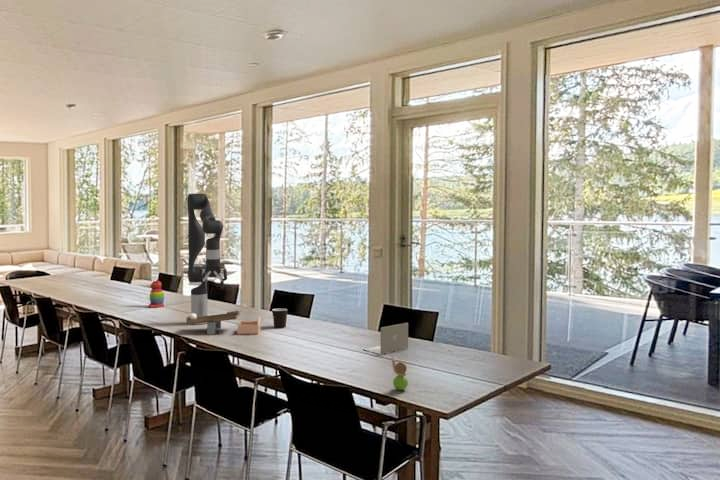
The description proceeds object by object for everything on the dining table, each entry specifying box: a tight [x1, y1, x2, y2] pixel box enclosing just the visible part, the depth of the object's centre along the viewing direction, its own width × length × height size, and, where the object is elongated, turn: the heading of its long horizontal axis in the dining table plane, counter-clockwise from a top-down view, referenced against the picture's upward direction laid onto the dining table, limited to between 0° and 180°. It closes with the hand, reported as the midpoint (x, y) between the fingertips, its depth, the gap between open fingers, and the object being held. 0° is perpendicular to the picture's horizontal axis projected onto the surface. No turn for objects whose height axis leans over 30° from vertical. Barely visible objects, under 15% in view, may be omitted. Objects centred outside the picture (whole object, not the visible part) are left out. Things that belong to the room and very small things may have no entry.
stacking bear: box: [148, 279, 165, 309], centre depth 395 cm, size 11×10×18 cm
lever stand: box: [206, 321, 222, 336], centre depth 316 cm, size 17×4×6 cm, turn 3°
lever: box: [185, 310, 241, 326], centre depth 315 cm, size 14×26×5 cm, turn 93°
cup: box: [236, 315, 262, 335], centre depth 313 cm, size 11×11×8 cm
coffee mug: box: [271, 307, 288, 329], centre depth 328 cm, size 12×9×10 cm
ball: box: [188, 313, 197, 320], centre depth 311 cm, size 4×4×4 cm
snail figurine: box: [391, 356, 409, 391], centre depth 214 cm, size 5×6×12 cm
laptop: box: [364, 322, 409, 355], centre depth 275 cm, size 18×12×13 cm
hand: (213, 288), depth 309 cm, fingers open, 8 cm apart
